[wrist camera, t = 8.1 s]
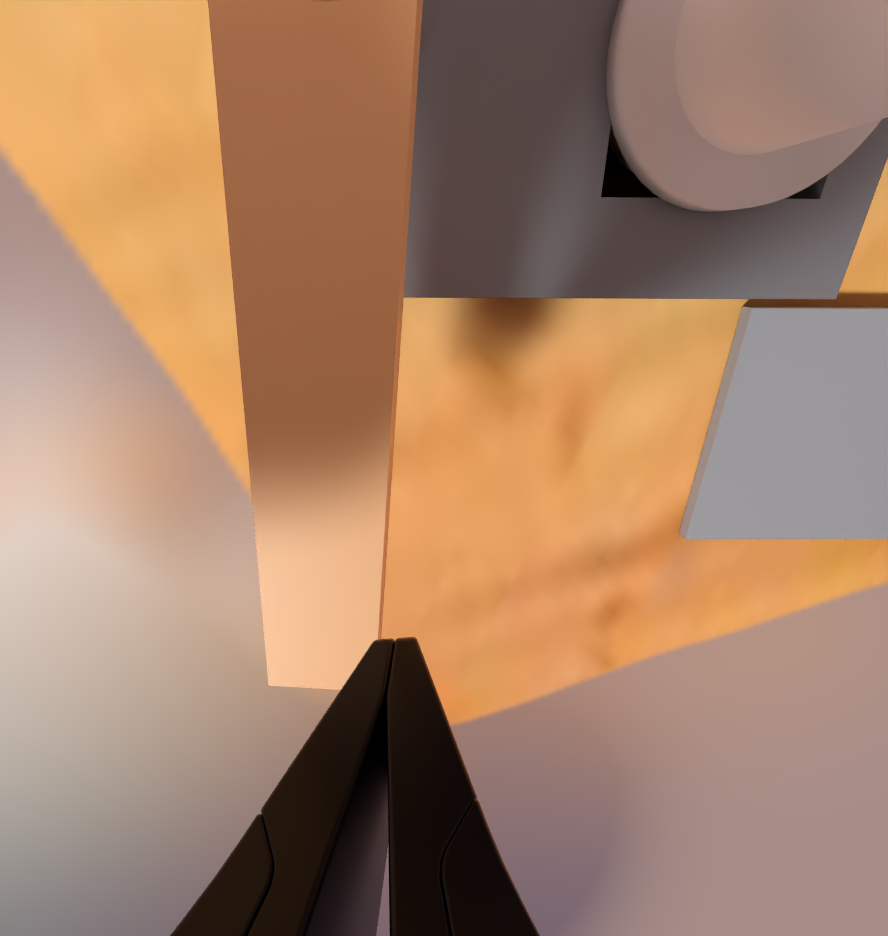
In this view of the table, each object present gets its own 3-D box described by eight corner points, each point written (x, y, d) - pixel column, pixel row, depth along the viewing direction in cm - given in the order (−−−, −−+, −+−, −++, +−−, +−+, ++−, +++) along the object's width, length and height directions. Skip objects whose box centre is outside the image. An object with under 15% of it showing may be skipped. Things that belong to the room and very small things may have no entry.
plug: (822, -53, 11) (1322, -445, 5) (749, 220, 14) (1014, 195, 8) (584, -58, 11) (780, -462, 5) (556, 219, 14) (660, 192, 7)
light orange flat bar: (384, 650, 11) (379, 691, 10) (280, 643, 11) (264, 685, 10) (447, -231, 5) (449, -355, 4) (218, -274, 5) (159, -417, 4)
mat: (1035, 307, 15) (1054, 309, 15) (912, 531, 19) (923, 538, 19) (742, 306, 15) (752, 308, 14) (679, 532, 19) (685, 539, 18)
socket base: (898, -176, 10) (1631, -848, 4) (762, 290, 15) (1008, 320, 8) (332, -189, 10) (161, -925, 4) (364, 288, 14) (309, 317, 8)
